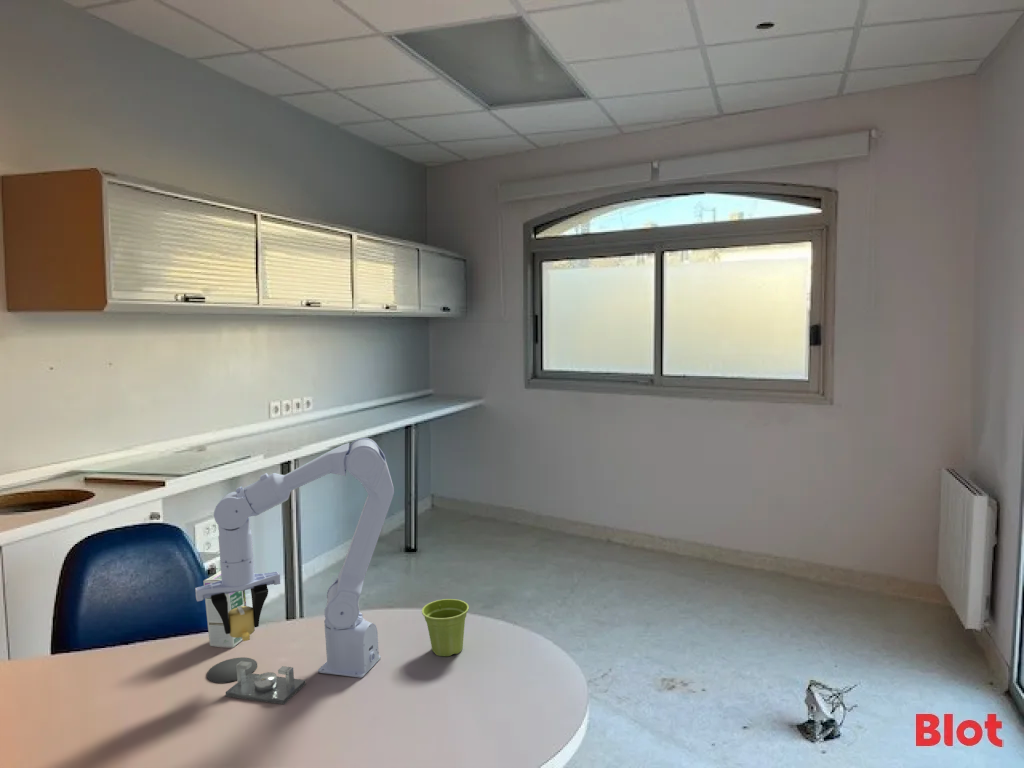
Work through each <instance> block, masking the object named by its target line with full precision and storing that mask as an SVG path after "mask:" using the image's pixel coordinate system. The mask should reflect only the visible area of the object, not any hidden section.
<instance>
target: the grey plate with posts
mask: <svg viewBox="0 0 1024 768" xmlns="http://www.w3.org/2000/svg"><path fill="white" fill-rule="evenodd" d="M251 666H252V664H251V662H245V661H241V662H239V663H238V664H237V665H236V668H237V681H236V682H237V683H235V684H234V685H233V686H231V687H230V688H228V690H226V691H225V697H228V698H235V699H242V700H248V701H249V700H250V701H254V702H255V701H256V702H257V701H258V702H263V703H264V702H265V703H270V704H276V705H277V704H279V705H285V704H286V703H287V702H288V701H290V699H291V698H293V696H294V695H296V693H298V692H299V691H300V690H301V689H302V688H303V687H304V686H305V685H306V684H307V683H306V679H301V678H300V679H299V678H295V676H294V673H295V672H294V667H293V666H292V667H291V666H284V665H281V667H280V668H278V669H277V674H278V675H285V677H283V676H277V674H276V673H275V672H268V671H267V672H263V673H254V672H253V673H249V674H248V675H247V676H246V675H245V670H247V669H248V668H250V667H251Z"/></svg>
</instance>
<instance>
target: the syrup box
mask: <svg viewBox="0 0 1024 768" xmlns="http://www.w3.org/2000/svg"><path fill="white" fill-rule="evenodd" d="M221 580H222V579H221V569H220V570H219V571H218V572H217V573H215V574H213V575H211V576H210V577H208V578H205V579H204V580H203V581H202V582H203V586H205V585H208V584H211V583H214V582H217V581H221ZM225 595H226V599H227V602H228V612H229V611H230V610H232V609H234V608H237V607H238V606H241V607H242V606H247V599H246V598H247V597H246V590H243V591H238V592H234V593H229V594H225ZM204 602H205V611H206V612H205V613H206V621H207V630H208V641H209V646H210V647H215V648H217V647H218V648H230V649H232V648H235V647H236V645H238V644H239V643H241V642H243V639H242V637H239V638H235V637H231V636H230V635H229V634H226V633H225V630H224V625H223V621H222V619H221V617H220V615H219V613H218V611H217V610H216V608H215V607H214V605H213V603H212V600H211V598H205V599H204Z"/></svg>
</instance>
